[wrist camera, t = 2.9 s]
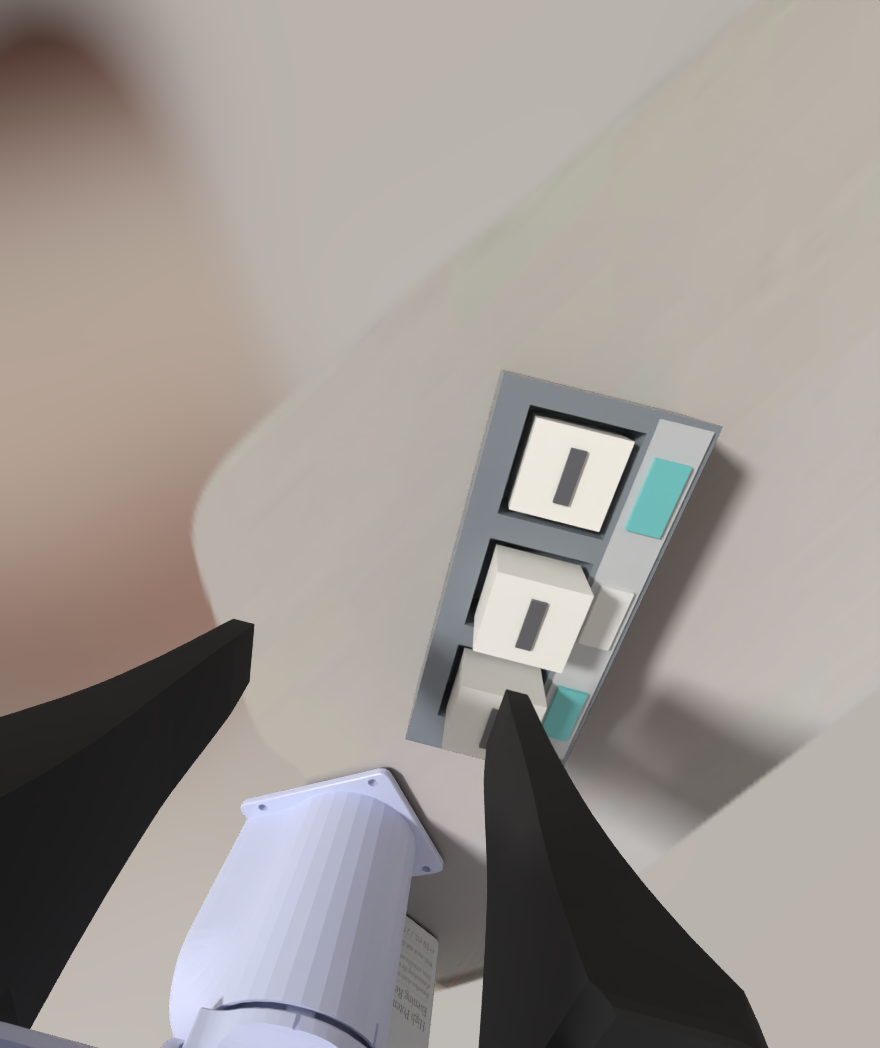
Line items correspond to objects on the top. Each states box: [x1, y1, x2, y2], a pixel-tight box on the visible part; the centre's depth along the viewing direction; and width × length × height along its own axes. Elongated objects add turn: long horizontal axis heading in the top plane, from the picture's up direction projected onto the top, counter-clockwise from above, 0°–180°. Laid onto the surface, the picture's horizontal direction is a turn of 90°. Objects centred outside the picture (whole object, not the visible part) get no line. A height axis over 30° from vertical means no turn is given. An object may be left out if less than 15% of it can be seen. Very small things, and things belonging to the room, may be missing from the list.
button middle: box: [473, 544, 594, 673], centre depth 15 cm, size 3×3×2 cm
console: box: [406, 370, 723, 766], centre depth 17 cm, size 15×7×3 cm, turn 167°
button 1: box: [442, 648, 547, 760], centre depth 16 cm, size 3×3×2 cm
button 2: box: [507, 410, 635, 532], centre depth 15 cm, size 3×3×2 cm
